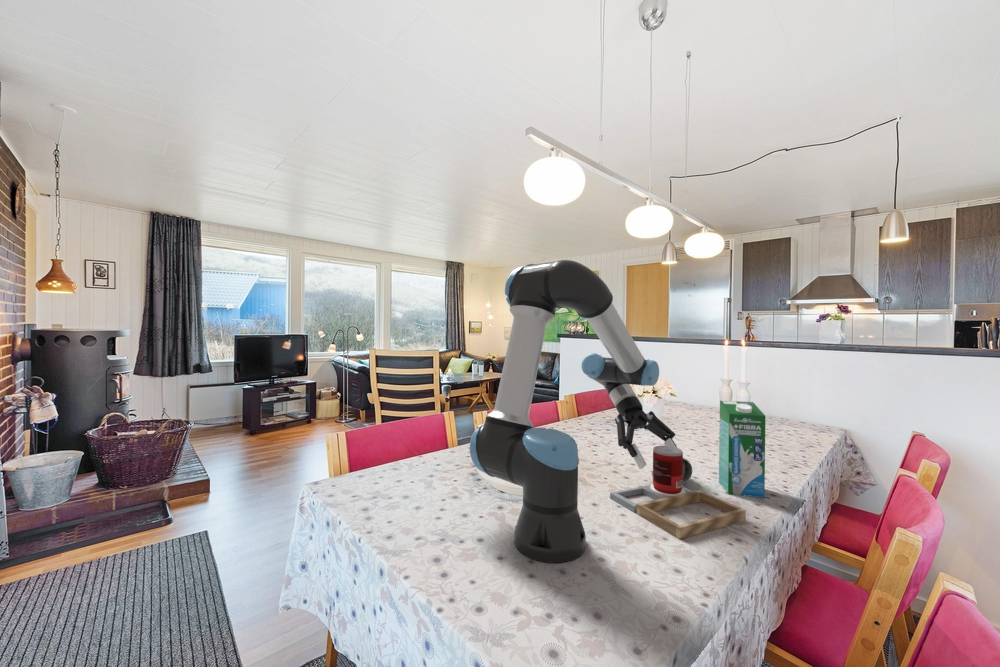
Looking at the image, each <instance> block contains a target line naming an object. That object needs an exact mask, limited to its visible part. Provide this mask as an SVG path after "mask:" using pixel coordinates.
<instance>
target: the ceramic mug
mask: <svg viewBox="0 0 1000 667" xmlns="http://www.w3.org/2000/svg"><path fill="white" fill-rule="evenodd" d="M651 476H652V478H653V470H652V471H651ZM692 476H693V466H692V464H691V462H690V461H689V460H688V459H686V458H685V457H683V478H682V483H683V484H685V483H687V482H688V481H689V480H691V479H692V478H691V477H692Z"/></svg>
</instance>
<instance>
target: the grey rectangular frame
mask: <svg viewBox="0 0 1000 667" xmlns="http://www.w3.org/2000/svg"><path fill="white" fill-rule="evenodd" d="M693 491H694V490H691V489H689V488H687V487H685V486H682V491H681V492H680V493H678V494H666V493H662V492H659V491H657V490H656V489H655V488H654V486H653V483H652V484H647V485H643V486H637V487H631V488H627V489H624V490H623V489H622V490H617V491H613V492H610V493H609V499H610V500H612V501H614V502H615V503H616V504H619V505H621V506H622V507H624V508H626V509H628V510H629V511H631V512H633V513H637V504H639V503H643V502H644V501H642V502H637V503H635V502H633V501H631V500H630V499H628V498H627V496H628V497H632V495H633V496H637V494H638V495H642V494H641V493H643V495H644V494H645V495H644V496H646V497H648V498H650V497H651V498H650V499H651V500H645V502H648V501H652V500H657V499H662V498H666V497H671V496H675V495H680V494H684V493H689V492H693Z"/></svg>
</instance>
